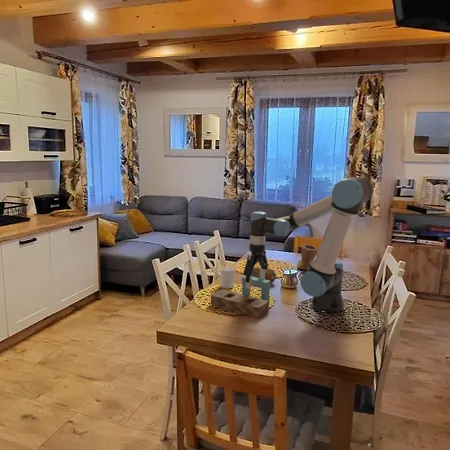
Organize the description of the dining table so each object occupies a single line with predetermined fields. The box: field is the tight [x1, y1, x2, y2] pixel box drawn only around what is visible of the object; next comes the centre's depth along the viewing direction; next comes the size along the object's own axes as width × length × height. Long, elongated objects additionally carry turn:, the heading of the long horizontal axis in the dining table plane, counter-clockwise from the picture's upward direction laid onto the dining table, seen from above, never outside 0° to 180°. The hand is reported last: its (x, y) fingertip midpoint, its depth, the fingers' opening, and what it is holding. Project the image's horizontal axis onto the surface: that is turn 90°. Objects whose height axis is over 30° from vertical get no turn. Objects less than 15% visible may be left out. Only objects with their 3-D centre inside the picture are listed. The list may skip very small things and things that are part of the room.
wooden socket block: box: [210, 289, 270, 319], centre depth 190 cm, size 26×10×5 cm, turn 55°
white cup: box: [219, 266, 236, 289], centre depth 220 cm, size 8×8×10 cm
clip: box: [241, 275, 271, 302], centre depth 202 cm, size 14×4×10 cm, turn 55°
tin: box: [251, 266, 277, 285], centre depth 228 cm, size 15×3×8 cm, turn 68°
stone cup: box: [296, 243, 318, 271], centre depth 258 cm, size 15×12×15 cm
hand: (255, 284), depth 202 cm, fingers open, 13 cm apart
